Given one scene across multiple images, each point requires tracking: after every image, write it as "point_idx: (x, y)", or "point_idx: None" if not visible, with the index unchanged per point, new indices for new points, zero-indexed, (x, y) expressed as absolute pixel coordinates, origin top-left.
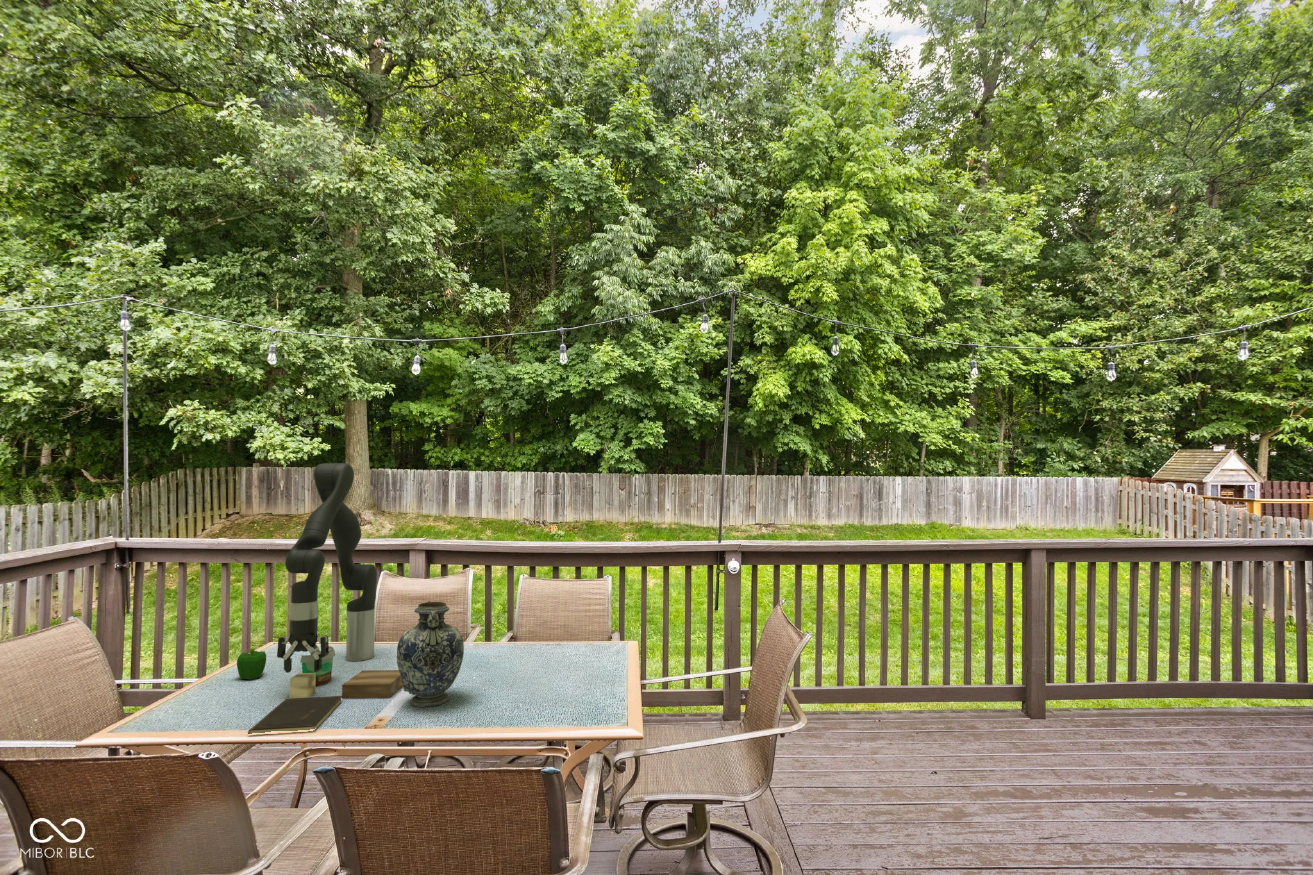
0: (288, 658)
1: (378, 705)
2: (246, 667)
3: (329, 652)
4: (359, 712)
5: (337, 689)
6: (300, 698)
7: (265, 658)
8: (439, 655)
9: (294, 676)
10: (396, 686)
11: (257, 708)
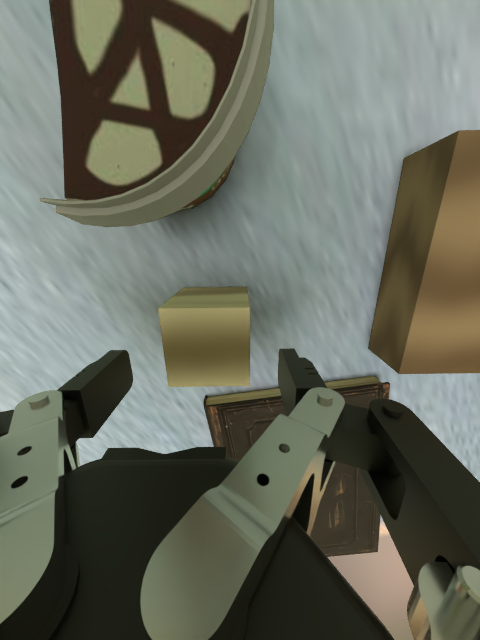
0: (79, 432)
1: None
2: None
3: (254, 19)
4: (447, 448)
5: (318, 247)
6: (255, 406)
7: None
8: None
9: (171, 362)
10: None
11: (145, 419)
